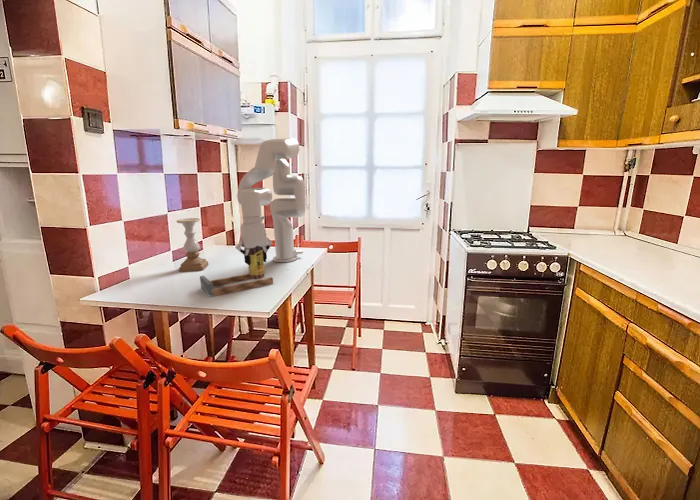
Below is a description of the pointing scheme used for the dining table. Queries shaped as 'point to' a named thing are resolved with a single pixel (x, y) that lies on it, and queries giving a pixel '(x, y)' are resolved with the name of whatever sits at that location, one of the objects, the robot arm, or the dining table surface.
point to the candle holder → (191, 248)
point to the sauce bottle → (256, 263)
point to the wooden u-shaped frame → (219, 286)
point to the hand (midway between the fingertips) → (256, 262)
